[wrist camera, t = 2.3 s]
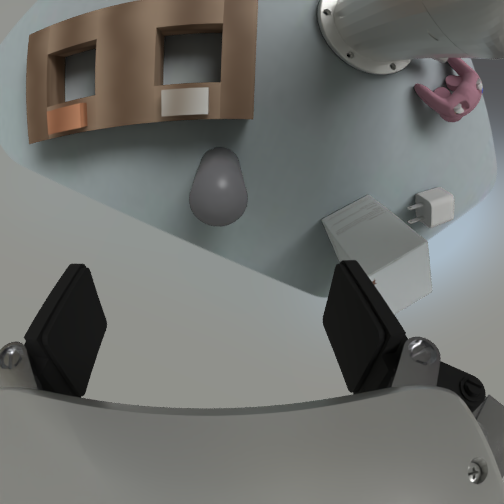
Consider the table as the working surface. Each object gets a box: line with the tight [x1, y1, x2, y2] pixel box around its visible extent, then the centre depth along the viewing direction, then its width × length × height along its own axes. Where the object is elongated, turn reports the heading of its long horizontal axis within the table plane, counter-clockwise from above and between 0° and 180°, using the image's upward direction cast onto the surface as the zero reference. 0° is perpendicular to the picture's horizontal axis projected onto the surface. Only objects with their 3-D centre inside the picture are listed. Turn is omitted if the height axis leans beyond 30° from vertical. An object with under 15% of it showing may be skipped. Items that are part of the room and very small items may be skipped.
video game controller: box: [414, 58, 483, 122], centre depth 23 cm, size 10×5×7 cm, turn 139°
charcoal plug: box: [189, 147, 248, 226], centre depth 24 cm, size 4×4×12 cm
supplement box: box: [321, 195, 432, 315], centre depth 30 cm, size 7×7×13 cm
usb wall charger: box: [407, 187, 454, 228], centre depth 32 cm, size 4×7×4 cm, turn 107°
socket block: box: [26, 0, 258, 144], centre depth 20 cm, size 24×13×6 cm, turn 88°
